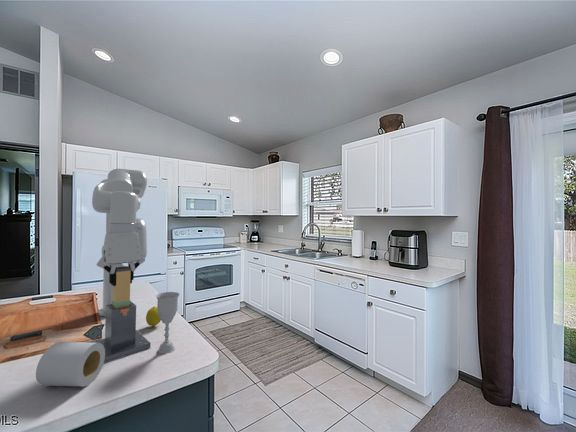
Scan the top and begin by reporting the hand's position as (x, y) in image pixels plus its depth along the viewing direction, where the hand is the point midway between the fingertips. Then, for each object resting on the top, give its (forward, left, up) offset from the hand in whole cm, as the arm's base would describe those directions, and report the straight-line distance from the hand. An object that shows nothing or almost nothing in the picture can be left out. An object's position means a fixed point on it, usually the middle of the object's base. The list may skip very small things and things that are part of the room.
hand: (121, 283), depth 88 cm
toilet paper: (+12, -14, -22) cm, 28 cm away
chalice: (+12, +10, -21) cm, 27 cm away
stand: (0, 0, -21) cm, 21 cm away
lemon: (-9, +14, -21) cm, 27 cm away
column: (0, 0, -14) cm, 14 cm away
